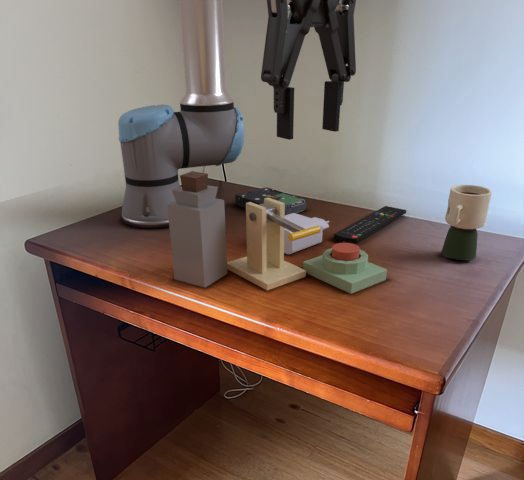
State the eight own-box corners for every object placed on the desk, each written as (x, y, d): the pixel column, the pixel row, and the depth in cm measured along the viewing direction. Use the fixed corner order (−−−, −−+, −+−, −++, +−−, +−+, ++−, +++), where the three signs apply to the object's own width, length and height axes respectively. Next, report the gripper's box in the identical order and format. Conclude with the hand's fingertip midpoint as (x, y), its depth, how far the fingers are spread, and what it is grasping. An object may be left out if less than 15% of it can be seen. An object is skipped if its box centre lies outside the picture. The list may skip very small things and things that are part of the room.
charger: (341, 237, 115) (291, 256, 106) (309, 226, 120) (259, 243, 112) (343, 215, 112) (292, 232, 104) (310, 205, 118) (259, 221, 109)
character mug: (451, 245, 110) (463, 180, 104) (486, 253, 107) (501, 186, 100) (428, 261, 103) (439, 193, 96) (464, 271, 99) (479, 200, 93)
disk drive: (234, 205, 134) (275, 219, 124) (234, 194, 132) (275, 207, 123) (266, 197, 140) (307, 210, 130) (266, 186, 138) (307, 198, 129)
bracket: (306, 276, 98) (308, 206, 91) (267, 290, 93) (266, 217, 86) (264, 256, 106) (263, 190, 99) (226, 268, 101) (223, 200, 94)
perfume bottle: (204, 287, 94) (197, 182, 85) (174, 279, 97) (164, 176, 88) (227, 274, 99) (223, 172, 90) (197, 266, 102) (190, 167, 93)
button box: (302, 271, 100) (303, 251, 98) (337, 259, 104) (338, 239, 102) (350, 294, 92) (352, 272, 90) (386, 279, 97) (388, 258, 94)
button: (325, 256, 97) (326, 246, 96) (344, 249, 99) (345, 240, 98) (345, 264, 93) (346, 254, 92) (364, 257, 96) (365, 248, 95)
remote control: (405, 215, 126) (406, 210, 126) (354, 246, 110) (355, 240, 109) (384, 211, 129) (385, 205, 128) (332, 240, 113) (332, 234, 112)
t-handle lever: (319, 237, 89) (321, 223, 88) (292, 245, 86) (293, 231, 85) (273, 214, 97) (273, 200, 95) (246, 221, 94) (246, 207, 92)
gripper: (268, -70, 59) (268, 148, 71) (394, -58, 71) (376, 128, 83) (228, -64, 64) (234, 139, 76) (352, -54, 76) (340, 122, 88)
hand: (308, 133), depth 79 cm, fingers open, 8 cm apart
